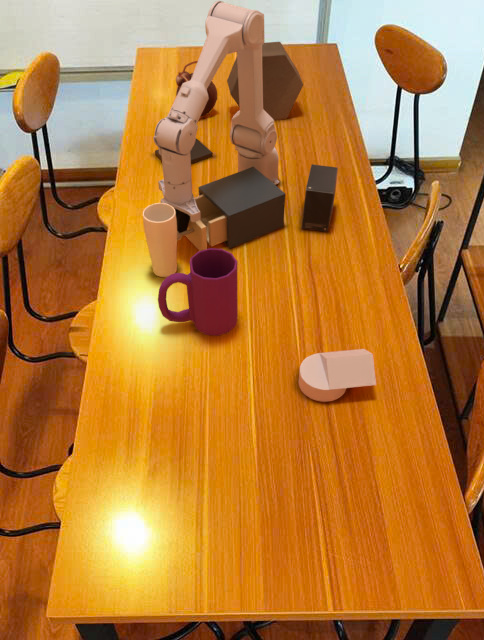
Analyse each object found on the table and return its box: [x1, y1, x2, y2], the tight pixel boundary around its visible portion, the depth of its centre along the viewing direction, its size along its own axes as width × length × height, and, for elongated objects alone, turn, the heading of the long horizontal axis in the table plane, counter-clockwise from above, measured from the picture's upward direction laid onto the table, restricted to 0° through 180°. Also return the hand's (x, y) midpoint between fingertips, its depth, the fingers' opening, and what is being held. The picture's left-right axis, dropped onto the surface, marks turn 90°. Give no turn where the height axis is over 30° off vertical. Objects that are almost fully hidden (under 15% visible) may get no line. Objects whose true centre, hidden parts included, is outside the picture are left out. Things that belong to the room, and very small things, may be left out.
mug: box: [157, 247, 239, 337], centre depth 133 cm, size 9×16×15 cm, turn 99°
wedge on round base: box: [298, 348, 377, 403], centre depth 126 cm, size 9×7×13 cm
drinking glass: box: [142, 202, 178, 278], centre depth 143 cm, size 7×7×15 cm
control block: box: [154, 138, 213, 165], centre depth 177 cm, size 12×9×3 cm
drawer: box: [177, 194, 227, 251], centre depth 153 cm, size 18×12×7 cm, turn 122°
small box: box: [301, 163, 339, 232], centre depth 156 cm, size 11×6×10 cm, turn 168°
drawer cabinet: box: [198, 167, 286, 250], centre depth 156 cm, size 15×13×9 cm
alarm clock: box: [175, 60, 218, 118], centre depth 184 cm, size 11×5×15 cm, turn 115°
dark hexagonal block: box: [226, 41, 304, 121], centre depth 184 cm, size 17×8×21 cm
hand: (181, 232), depth 151 cm, fingers closed, pressing on drawer
